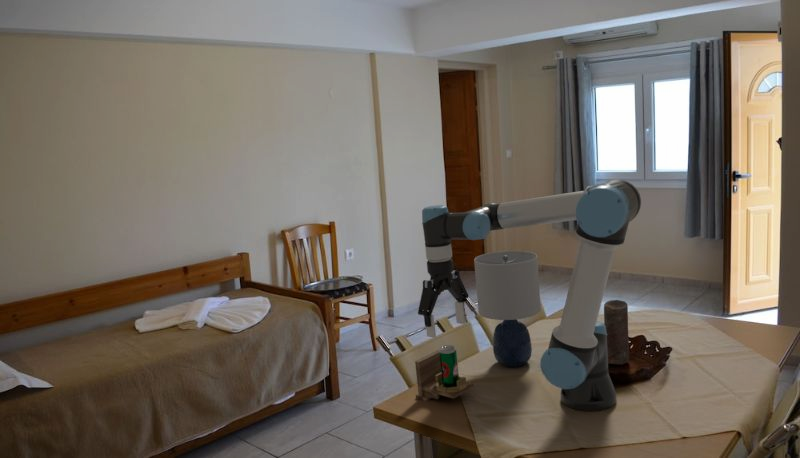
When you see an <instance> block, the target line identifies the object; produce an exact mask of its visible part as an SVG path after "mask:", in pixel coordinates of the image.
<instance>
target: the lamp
mask: <svg viewBox="0 0 800 458" xmlns="http://www.w3.org/2000/svg"><path fill="white" fill-rule="evenodd" d="M473 261H474V262H473V263H474V264H473V265H474V273H475V274H474V275H475V285H476V287H475V288H476V296H477V297H476V298H477V309H478V310H477V311H478V315H479V316H480V317H482V318H485V319H488V320H489V319H490V320H495V321H496V320H498V321H502V322H499V323H498V324H497V325H496V326H495V328H494V331H493V334H492V335H493V337H492V339H493V340H492V348H493V349H492V350H493V354H494V358H495V360H496V361H497V362H498V363H499V364H501V365H502V366H506V367H510V368H511V367H512V368H513V367H514V368H515V367H520V366H523V365H525V364H527V362H529V361H530V359H531V357H532V351H533V349H532V348H533V347H532V341H531V340H532V339H531V335H530V332H529V331H530V330H529V329H528V328H527V326H526V325H525V323H523V322H521V321H518V320H520V319H526V318H530V317H533V316H536V315H537V314H539V313H541V310H542V305H541V304H542V303H541V294H540V293H541V292H540V278H539V262H538V255H537V254H536V253H535V252H531V251H525V250H502V251H493V252H488V253H483V254H481V255H478V256H475V258H474V260H473Z"/></svg>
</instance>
